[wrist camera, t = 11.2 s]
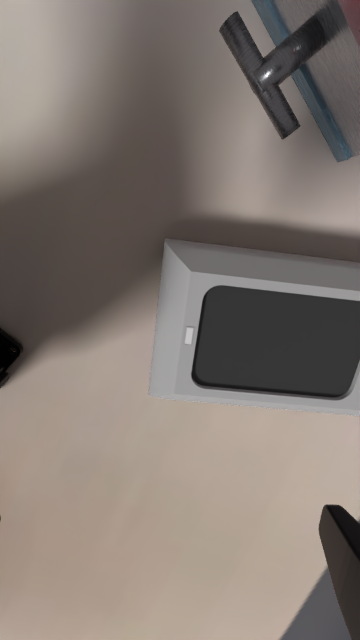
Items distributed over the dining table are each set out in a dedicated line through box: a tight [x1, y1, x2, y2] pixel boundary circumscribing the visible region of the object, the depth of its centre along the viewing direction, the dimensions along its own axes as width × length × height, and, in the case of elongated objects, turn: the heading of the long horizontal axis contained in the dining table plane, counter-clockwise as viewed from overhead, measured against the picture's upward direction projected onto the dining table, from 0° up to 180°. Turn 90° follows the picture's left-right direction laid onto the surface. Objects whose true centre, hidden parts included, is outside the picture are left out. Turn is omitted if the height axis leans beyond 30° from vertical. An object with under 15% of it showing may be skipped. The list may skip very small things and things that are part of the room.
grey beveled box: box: [148, 238, 360, 416], centre depth 20 cm, size 10×4×15 cm
